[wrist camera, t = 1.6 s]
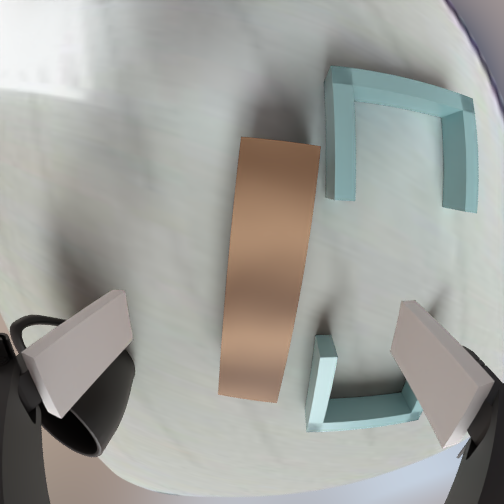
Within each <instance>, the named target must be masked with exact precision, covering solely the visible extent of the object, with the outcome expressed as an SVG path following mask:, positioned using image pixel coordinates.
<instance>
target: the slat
mask: <svg viewBox="0 0 504 504" xmlns="http://www.w3.org/2000/svg"><path fill="white" fill-rule="evenodd" d="M320 149H321V146H315V145H309V144H302V143H295V142H287V141H279V140H270V139H260V138H249V137H241V142H240V151H239V159H238V168H237V177H236V187H235V196H234V206H233V216H232V226H231V236H230V247H229V258H228V269H227V280H226V292H225V304H224V317H223V330H222V344H221V358H220V373H219V390H218V395H224V396H230V397H236V398H242V399H249V400H256V401H264V402H273V403H277V400H278V396H279V391H280V387H281V383H282V379H283V374H284V370H285V365H286V361H287V356H288V352H289V347H290V342H291V337H292V332H293V327H294V322H295V317H296V312H297V307H298V301H299V296H300V290H301V285H302V279H303V273H304V267H305V261H306V255H307V249H308V242H309V236H310V229H311V222H312V215H313V208H314V200H315V193H316V185H317V176H318V168H319V159H320Z"/></svg>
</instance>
